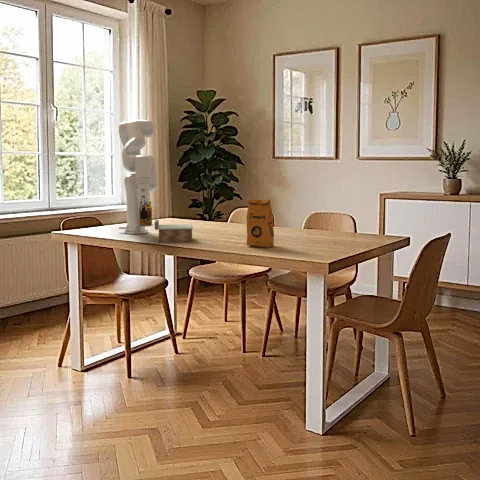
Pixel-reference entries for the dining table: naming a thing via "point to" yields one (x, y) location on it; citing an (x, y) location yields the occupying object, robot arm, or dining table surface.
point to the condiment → (149, 217)
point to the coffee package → (260, 224)
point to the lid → (171, 226)
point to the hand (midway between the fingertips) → (144, 217)
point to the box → (175, 235)
